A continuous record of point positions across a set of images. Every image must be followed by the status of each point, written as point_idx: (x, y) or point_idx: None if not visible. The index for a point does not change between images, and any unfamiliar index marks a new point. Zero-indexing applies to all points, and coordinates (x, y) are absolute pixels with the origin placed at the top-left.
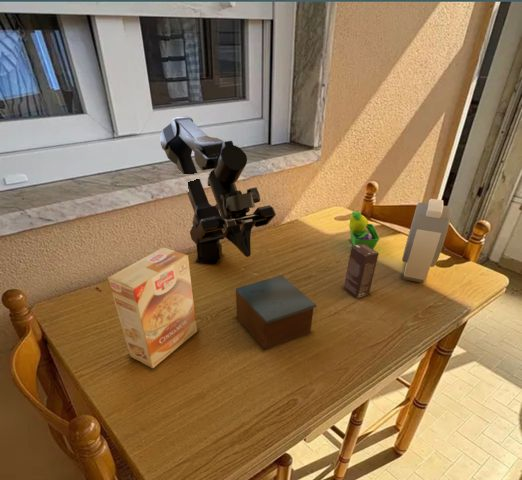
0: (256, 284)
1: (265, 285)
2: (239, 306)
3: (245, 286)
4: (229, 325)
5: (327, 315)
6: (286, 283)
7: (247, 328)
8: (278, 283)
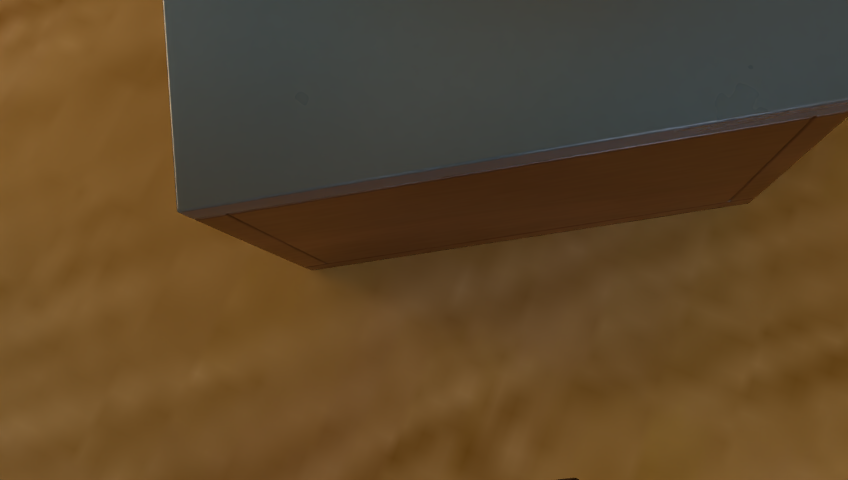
0: (566, 97)
1: (465, 42)
2: None
3: (725, 94)
4: (844, 124)
5: (58, 14)
6: (214, 15)
7: None
8: (300, 38)
